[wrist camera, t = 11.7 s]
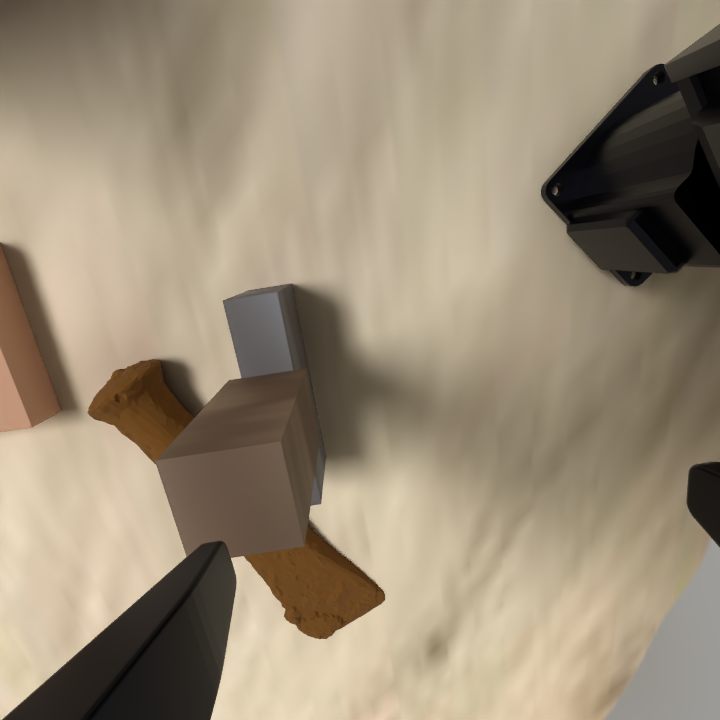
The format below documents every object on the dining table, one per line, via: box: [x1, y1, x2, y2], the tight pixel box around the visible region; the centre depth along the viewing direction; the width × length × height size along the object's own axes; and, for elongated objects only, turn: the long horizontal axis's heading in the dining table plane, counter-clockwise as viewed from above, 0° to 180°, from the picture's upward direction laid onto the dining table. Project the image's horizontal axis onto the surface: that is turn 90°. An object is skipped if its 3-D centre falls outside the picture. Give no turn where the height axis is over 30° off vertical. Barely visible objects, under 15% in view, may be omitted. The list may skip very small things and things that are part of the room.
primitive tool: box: [87, 359, 385, 639], centre depth 20 cm, size 19×6×4 cm, turn 36°
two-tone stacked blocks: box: [155, 284, 326, 558], centre depth 14 cm, size 3×9×10 cm, turn 9°
